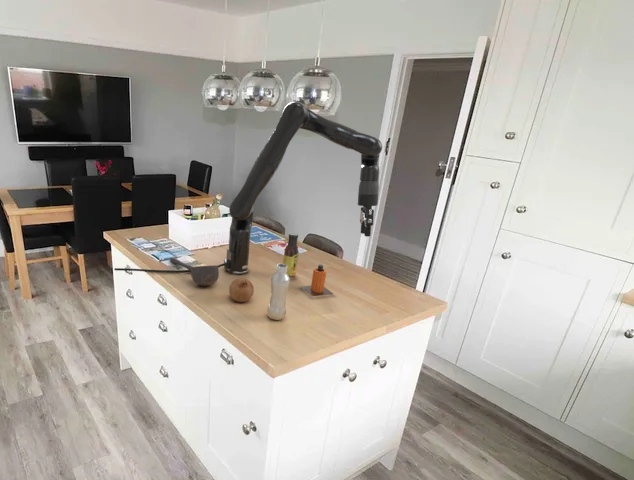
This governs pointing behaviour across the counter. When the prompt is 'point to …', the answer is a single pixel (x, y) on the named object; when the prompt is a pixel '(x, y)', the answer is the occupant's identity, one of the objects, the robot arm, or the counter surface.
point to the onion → (241, 290)
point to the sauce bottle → (291, 255)
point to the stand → (308, 289)
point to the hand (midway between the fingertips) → (365, 234)
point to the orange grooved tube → (318, 280)
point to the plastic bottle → (278, 293)
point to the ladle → (201, 273)
